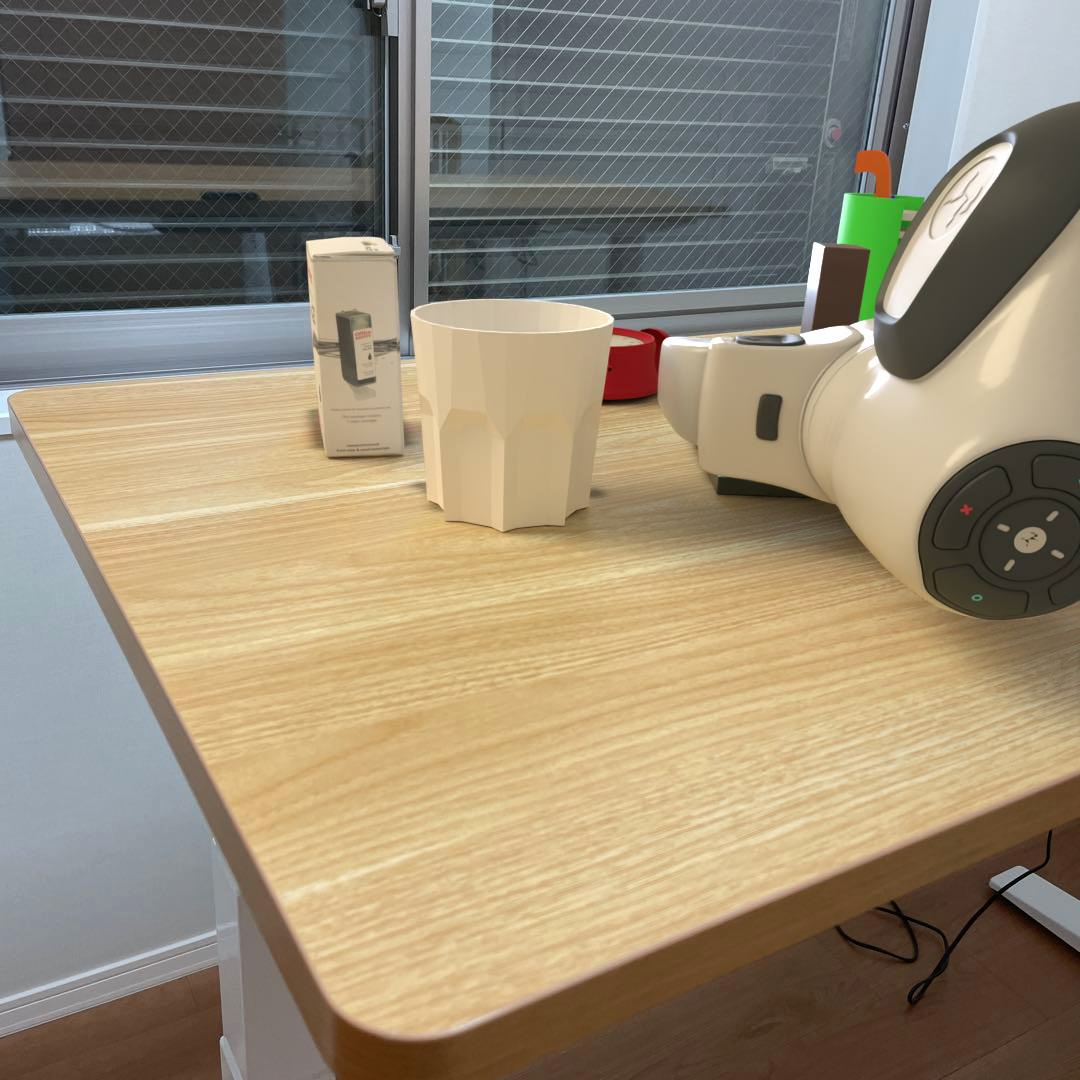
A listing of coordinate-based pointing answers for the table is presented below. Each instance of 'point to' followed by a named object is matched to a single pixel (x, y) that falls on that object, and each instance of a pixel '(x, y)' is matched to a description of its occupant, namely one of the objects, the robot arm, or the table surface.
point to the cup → (510, 407)
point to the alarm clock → (633, 363)
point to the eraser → (835, 286)
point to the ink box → (356, 345)
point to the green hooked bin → (876, 223)
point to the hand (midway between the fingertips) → (819, 357)
